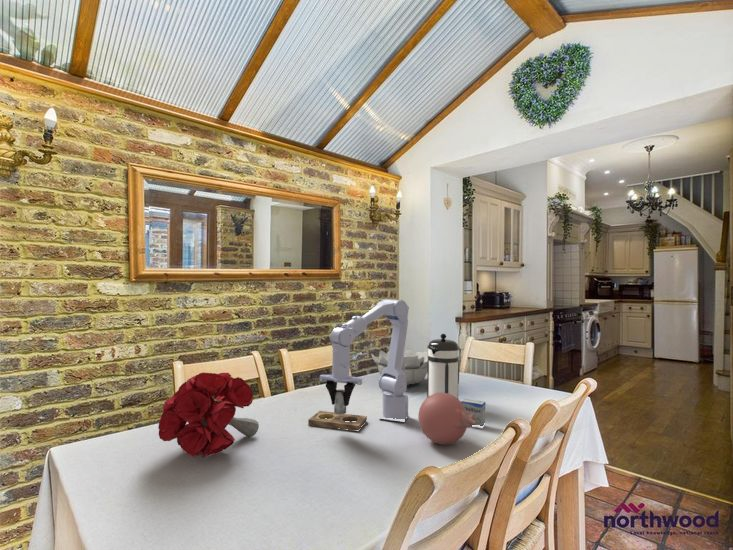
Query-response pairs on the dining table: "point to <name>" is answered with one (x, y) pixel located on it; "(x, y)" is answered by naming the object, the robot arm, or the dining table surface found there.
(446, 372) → the coffee press
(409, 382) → the decorative bowl
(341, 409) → the bushing
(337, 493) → the dining table surface
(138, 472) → the dining table surface
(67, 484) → the dining table surface
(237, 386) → the bouquet
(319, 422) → the jig plate
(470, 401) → the medicine box
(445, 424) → the balloon
